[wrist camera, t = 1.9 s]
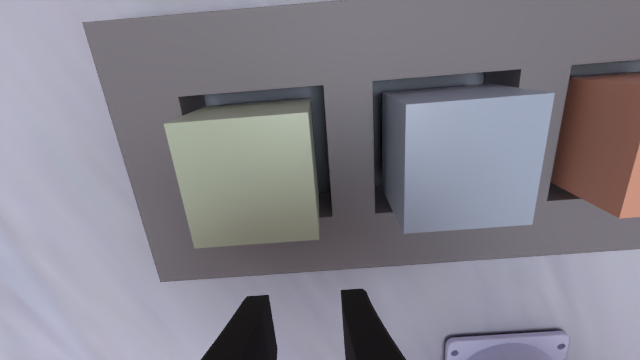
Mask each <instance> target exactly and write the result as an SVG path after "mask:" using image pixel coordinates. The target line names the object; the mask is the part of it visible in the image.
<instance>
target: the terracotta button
mask: <svg viewBox="0 0 640 360" xmlns="http://www.w3.org/2000/svg"><path fill="white" fill-rule="evenodd" d="M550 182H551V183H553V184H555V185H557V186H559V187H560V188H562V189H564V190H566V191H568V192H570V193H572V194H574V195H576V196H578V197H579V198H581V199H583V200H585V201H587V202H589V203H591V204H593V205H595V206H596V207H598V208H600V209H602V210H604V211H606V212H608V213H610V214H612V215H614V216H615V217H617V218H633V217H640V72H630V73H618V74H605V75H593V76H580V77H570V78H569V83H568V88H567V94H566V99H565V105H564V110H563V116H562V121H561V127H560V132H559V137H558V143H557V148H556V154H555V159H554V165H553V170H552V176H551V181H550Z"/></svg>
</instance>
